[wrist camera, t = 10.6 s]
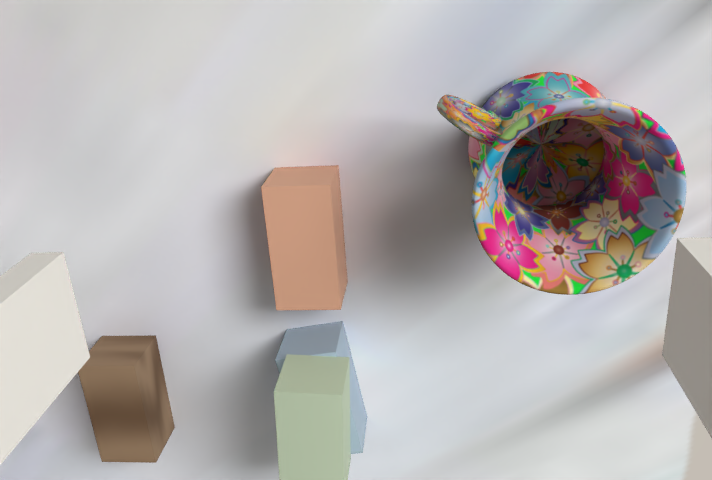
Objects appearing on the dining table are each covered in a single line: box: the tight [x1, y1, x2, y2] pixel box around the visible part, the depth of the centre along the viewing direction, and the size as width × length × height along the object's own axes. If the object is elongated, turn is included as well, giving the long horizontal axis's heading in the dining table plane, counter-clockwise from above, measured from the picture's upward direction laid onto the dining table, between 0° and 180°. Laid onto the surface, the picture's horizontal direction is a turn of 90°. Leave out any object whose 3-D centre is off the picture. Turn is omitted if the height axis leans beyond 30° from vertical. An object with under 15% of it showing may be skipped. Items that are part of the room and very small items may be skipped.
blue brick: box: [275, 321, 367, 454], centre depth 46 cm, size 8×4×4 cm, turn 12°
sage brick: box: [274, 354, 351, 480], centre depth 42 cm, size 8×4×4 cm, turn 0°
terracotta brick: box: [261, 165, 348, 310], centre depth 41 cm, size 8×4×4 cm, turn 4°
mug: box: [437, 72, 686, 295], centre depth 35 cm, size 12×9×11 cm
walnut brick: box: [78, 336, 175, 462], centre depth 48 cm, size 8×4×4 cm, turn 3°
